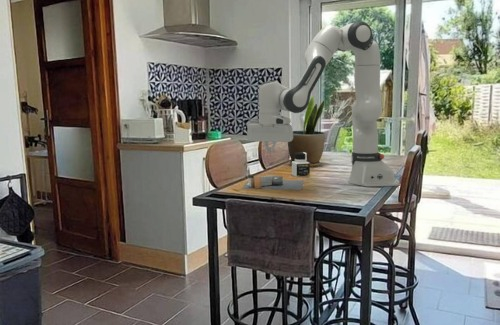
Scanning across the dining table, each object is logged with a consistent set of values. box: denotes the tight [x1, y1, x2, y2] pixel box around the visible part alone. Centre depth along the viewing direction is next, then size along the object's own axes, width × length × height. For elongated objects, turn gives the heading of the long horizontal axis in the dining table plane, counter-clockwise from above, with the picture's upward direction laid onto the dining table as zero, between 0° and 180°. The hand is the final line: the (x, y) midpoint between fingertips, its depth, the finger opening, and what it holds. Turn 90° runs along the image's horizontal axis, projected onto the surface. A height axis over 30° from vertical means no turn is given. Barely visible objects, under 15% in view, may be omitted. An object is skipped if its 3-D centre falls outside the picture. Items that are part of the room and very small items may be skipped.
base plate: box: [241, 175, 304, 191], centre depth 192 cm, size 26×20×6 cm
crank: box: [247, 174, 284, 187], centre depth 190 cm, size 16×6×5 cm, turn 114°
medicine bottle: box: [291, 152, 311, 178], centre depth 216 cm, size 7×7×12 cm
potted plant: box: [287, 95, 326, 168], centre depth 245 cm, size 21×22×40 cm
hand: (269, 152), depth 183 cm, fingers closed
